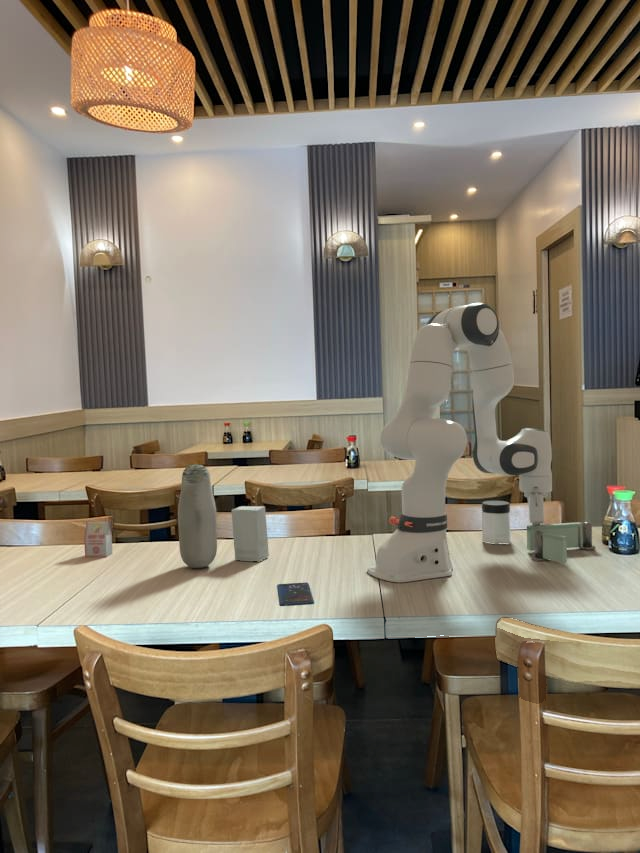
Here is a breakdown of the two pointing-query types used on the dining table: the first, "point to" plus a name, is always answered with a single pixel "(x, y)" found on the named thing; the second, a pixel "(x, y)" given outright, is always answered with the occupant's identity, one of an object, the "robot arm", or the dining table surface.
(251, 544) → the skincare box
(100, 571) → the dining table surface
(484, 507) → the jar
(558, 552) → the fence panel
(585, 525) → the hinge post
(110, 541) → the white printed carton
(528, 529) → the gate
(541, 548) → the post
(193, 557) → the grey tall rounded cylinder
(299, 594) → the smartphone
